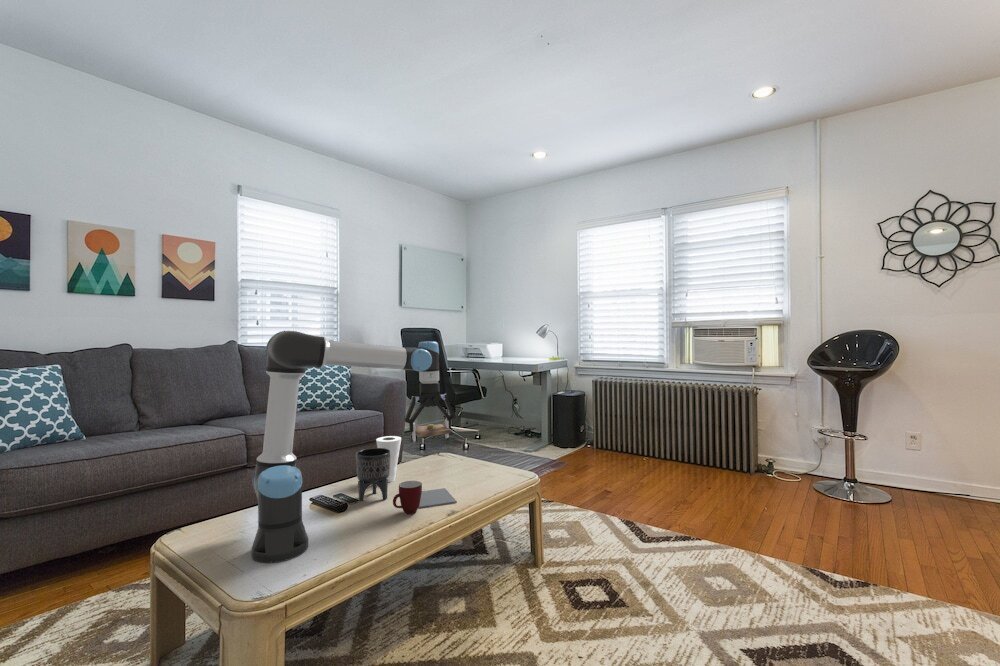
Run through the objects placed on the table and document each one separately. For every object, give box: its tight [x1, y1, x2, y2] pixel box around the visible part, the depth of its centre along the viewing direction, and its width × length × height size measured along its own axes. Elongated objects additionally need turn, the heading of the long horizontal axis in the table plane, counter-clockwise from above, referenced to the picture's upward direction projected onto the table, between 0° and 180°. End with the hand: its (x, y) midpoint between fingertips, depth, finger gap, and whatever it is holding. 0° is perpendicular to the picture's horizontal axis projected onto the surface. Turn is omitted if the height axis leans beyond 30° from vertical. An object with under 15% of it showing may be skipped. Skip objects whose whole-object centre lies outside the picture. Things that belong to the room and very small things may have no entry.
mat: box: [418, 487, 458, 509], centre depth 178 cm, size 14×16×1 cm
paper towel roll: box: [375, 435, 402, 483], centre depth 200 cm, size 11×11×18 cm
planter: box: [355, 447, 391, 503], centre depth 179 cm, size 13×13×18 cm
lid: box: [415, 423, 451, 438], centre depth 176 cm, size 12×12×3 cm
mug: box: [392, 480, 423, 515], centre depth 163 cm, size 10×8×10 cm
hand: (430, 438), depth 176 cm, fingers closed on lid, 12 cm apart
